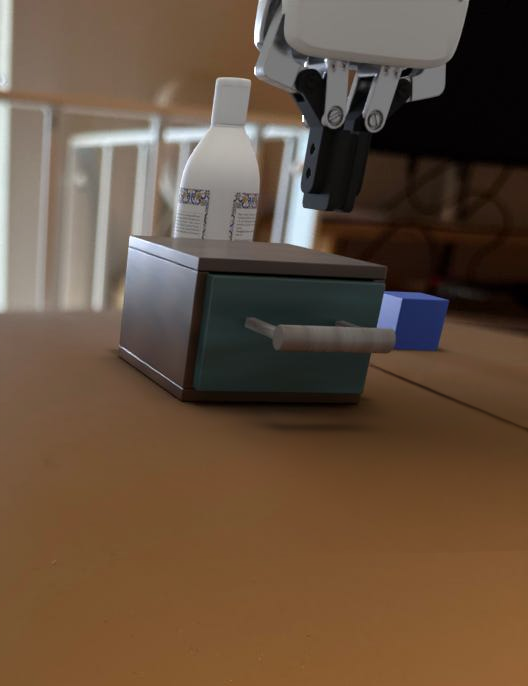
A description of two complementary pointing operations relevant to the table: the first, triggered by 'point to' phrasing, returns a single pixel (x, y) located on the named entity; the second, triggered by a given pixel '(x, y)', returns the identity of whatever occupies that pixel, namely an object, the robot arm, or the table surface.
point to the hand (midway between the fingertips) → (326, 209)
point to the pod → (413, 319)
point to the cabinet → (188, 297)
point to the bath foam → (221, 173)
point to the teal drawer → (288, 334)
